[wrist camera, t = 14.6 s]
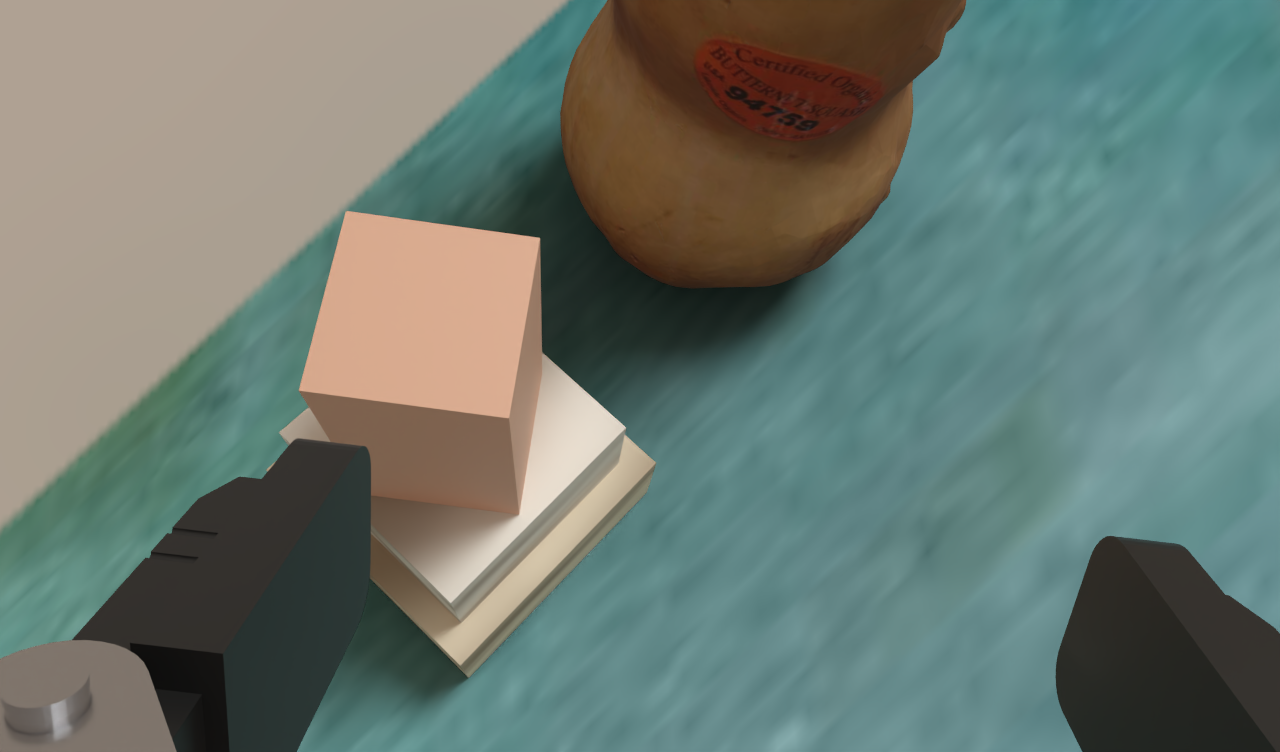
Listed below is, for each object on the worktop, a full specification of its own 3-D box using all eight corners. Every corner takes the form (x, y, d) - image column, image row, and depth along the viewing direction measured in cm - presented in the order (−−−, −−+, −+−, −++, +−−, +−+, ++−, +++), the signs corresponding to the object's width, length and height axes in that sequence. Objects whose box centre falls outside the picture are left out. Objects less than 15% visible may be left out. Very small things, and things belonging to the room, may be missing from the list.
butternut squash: (545, 327, 44) (541, -193, 21) (572, 79, 49) (593, -558, 26) (858, 356, 44) (1193, -115, 21) (852, 109, 49) (1116, -484, 26)
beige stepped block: (646, 492, 41) (667, 427, 34) (468, 677, 38) (449, 650, 30) (475, 336, 43) (460, 243, 36) (292, 499, 40) (234, 433, 32)
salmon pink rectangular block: (542, 372, 34) (540, 237, 26) (519, 514, 32) (509, 418, 24) (395, 352, 34) (346, 211, 26) (363, 494, 32) (298, 390, 24)
